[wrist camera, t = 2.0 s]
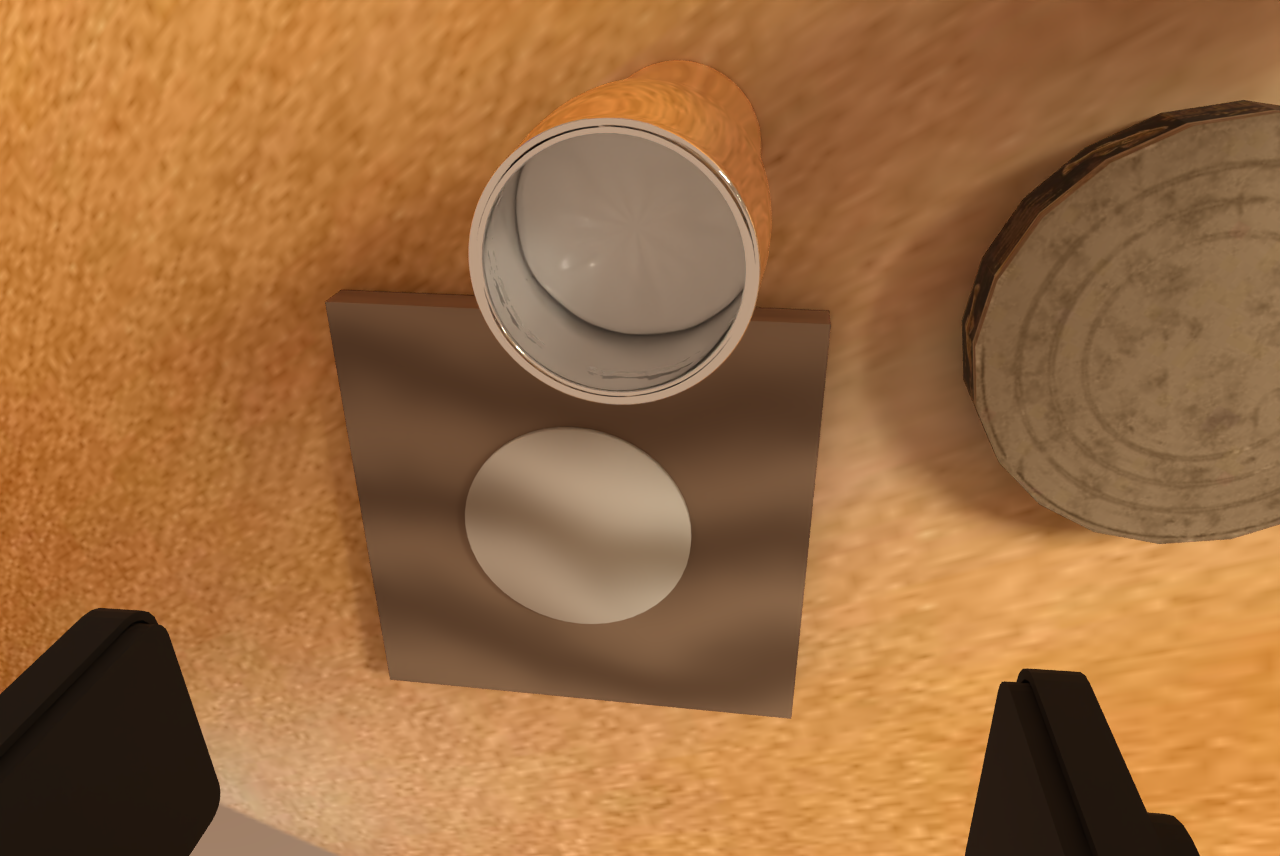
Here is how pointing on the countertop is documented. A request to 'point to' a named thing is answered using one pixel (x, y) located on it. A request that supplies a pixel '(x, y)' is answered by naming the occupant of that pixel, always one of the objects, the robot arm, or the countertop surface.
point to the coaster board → (582, 511)
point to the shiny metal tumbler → (627, 236)
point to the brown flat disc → (1141, 330)
